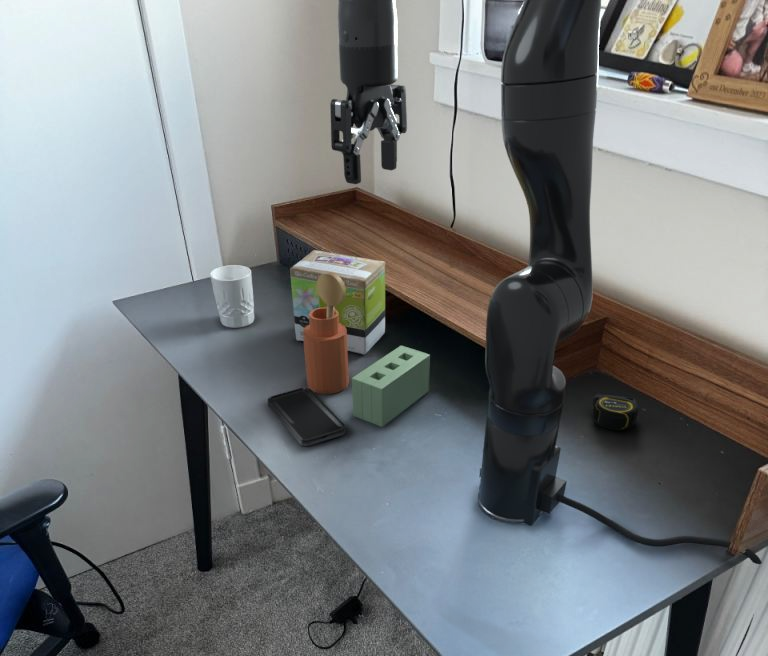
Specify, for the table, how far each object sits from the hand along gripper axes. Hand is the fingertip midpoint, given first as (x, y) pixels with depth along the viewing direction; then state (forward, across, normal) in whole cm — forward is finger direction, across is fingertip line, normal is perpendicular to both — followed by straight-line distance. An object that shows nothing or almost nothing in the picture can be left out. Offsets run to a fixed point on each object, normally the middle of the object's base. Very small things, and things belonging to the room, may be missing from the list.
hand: (371, 175), depth 102 cm
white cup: (+34, +6, +40) cm, 53 cm away
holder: (+35, -2, -4) cm, 35 cm away
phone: (+35, -14, +5) cm, 38 cm away
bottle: (+35, -3, +9) cm, 36 cm away
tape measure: (+36, +14, -36) cm, 53 cm away
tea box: (+35, +12, +18) cm, 41 cm away
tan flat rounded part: (+34, -3, +9) cm, 35 cm away
